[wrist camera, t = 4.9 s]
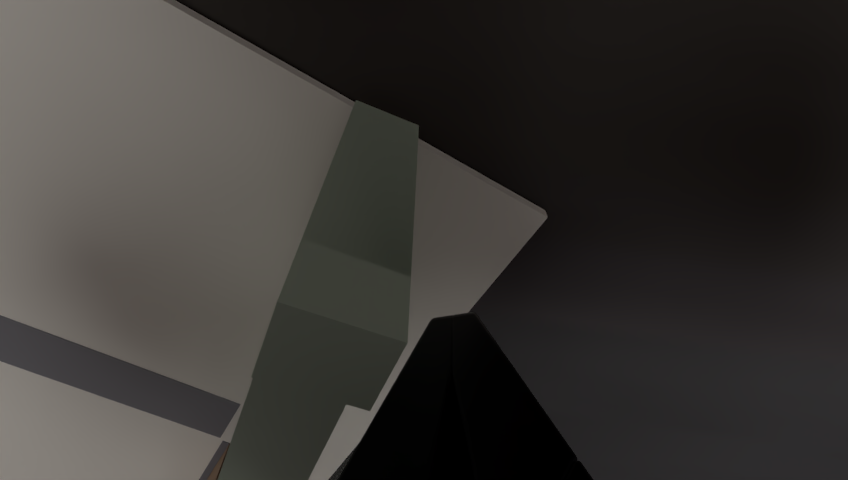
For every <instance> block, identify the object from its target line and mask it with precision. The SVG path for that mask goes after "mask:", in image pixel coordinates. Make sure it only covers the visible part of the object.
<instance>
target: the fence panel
mask: <svg viewBox="0 0 848 480" xmlns="http://www.w3.org/2000/svg"><path fill="white" fill-rule="evenodd" d="M418 135H419V125H417V124H414V123H412V122H409V121H407V120H404V119H402V118H399V117H397V116H395V115H392V114H390V113H387V112H385V111H382V110H380V109H377V108H375V107H372V106H370V105H368V104H365V103H363V102H360V101H358V100H356V101H355V104H354V106H353V109H352V111H351V114H350V117H349V119H348V122H347V124H346V127H345V129H344V132H343V134H342V137H341V140H340V142H339V145H338V147H337V150H336V152H335V155H334V157H333V160H332V163H331V165H330V168H329V170H328V173H327V175H326V178H325V181H324V183H323V186H322V188H321V191H320V193H319V196H318V198H317V201H316V204H315V206H314V209H313V211H312V214H311V216H310V219H309V221H308V224H307V227H306V229H305V232H304V234H303V237H302V239H301V242H300V244H299V247H298V250H297V252H296V255H295V257H294V260H293V262H292V265H291V267H290V270H289V273H288V275H287V278H286V280H285V283H284V285H283V288H282V290H281V293H280V296H279V298H278V301H277V303H276V306H275V309H274V312H273V315H272V318H271V321H270V324H269V327H268V329H267V332H266V335H265V338H264V341H263V344H262V347H261V350H260V353H259V356H258V358H257V361H256V364H255V367H254V370H253V373H252V376H251V378H253V380H252V382H251V385H250V388H249V391H248V394H247V397H246V400H245V403H244V405H243V408H242V411H241V414H240V417H239V420H238V423H237V425H236V428H235V431H234V434H233V437H232V440H231V443H230V445H229V448H228V451H227V454H226V457H225V460H224V463H223V466H222V468H221V471H220V474H219V477H218V480H308V479H309V477H310V475H311V473H312V471H313V469H314V467H315V465H316V463H317V461H318V459H319V457H320V455H321V453H322V452H323V450H324V448H325V446H326V444H327V442H328V440H329V438H330V436H331V434H332V432H333V430H334V428H335V426H336V424H337V422H338V420H339V418H340V416H341V414H342V412H343V410H344V408H345V406H346V405H350V406H354V407H357V408H361V409H364V410H368V411H370V410H371V409H372V407H373V405H374V403H375V401H376V399H377V398H378V396H379V394H380V392H381V390H382V389H383V387H384V385H385V383H386V381H387V379H388V378H389V376H390V374H391V372H392V370H393V368H394V367H395V365H396V363H397V361H398V359H399V358H400V356H401V354H402V352H403V350H404V348H405V347H406V345H407V343H408V324H409V305H410V286H411V267H412V248H413V229H414V210H415V191H416V173H417V154H418Z"/></svg>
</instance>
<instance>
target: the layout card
mask: <svg viewBox="0 0 848 480" xmlns="http://www.w3.org/2000/svg"><path fill="white" fill-rule="evenodd" d="M354 104H355V102H354V101H352V100H350V99H348V98H347V97H345V96H343V95H341V94H340V93H338V92H336V91H334V90H333V89H331V88H329V87H327V86H326V85H324V84H322V83H320V82H318V81H317V80H315V79H313V78H311V77H310V76H308V75H306V74H304V73H303V72H301V71H299V70H297V69H296V68H294V67H292V66H290V65H289V64H287V63H285V62H283V61H281V60H280V59H278V58H276V57H274V56H273V55H271V54H269V53H267V52H266V51H264V50H262V49H260V48H259V47H257V46H255V45H253V44H252V43H250V42H248V41H246V40H244V39H243V38H241V37H239V36H237V35H236V34H234V33H232V32H230V31H229V30H227V29H225V28H223V27H222V26H220V25H218V24H216V23H215V22H213V21H211V20H209V19H207V18H206V17H204V16H202V15H200V14H199V13H197V12H195V11H193V10H192V9H190V8H188V7H186V6H185V5H183V4H181V3H179V2H178V1H176V0H0V480H207V479H208V477H209V475H210V474H211V472H212V471H213V469H214V467H215V466H216V464H217V463H218V461H219V459H220V458H221V456H222V455H223V453H224V451H225V450H226V448H227V447H228V445H229V443H231V440H232V437H233V434H234V431H235V428H236V425H237V423H238V420H239V417H240V414H241V411H242V408H243V405H244V403H245V400H246V397H247V394H248V391H249V388H250V385H251V382H252V380H253V378H251V376H252V373H253V370H254V367H255V364H256V361H257V358H258V356H259V353H260V350H261V347H262V344H263V341H264V338H265V335H266V332H267V329H268V327H269V324H270V321H271V318H272V315H273V312H274V309H275V306H276V303H277V301H278V298H279V296H280V293H281V290H282V288H283V285H284V283H285V280H286V278H287V275H288V273H289V270H290V267H291V265H292V262H293V260H294V257H295V255H296V252H297V250H298V247H299V244H300V242H301V239H302V237H303V234H304V232H305V229H306V227H307V224H308V221H309V219H310V216H311V214H312V211H313V209H314V206H315V204H316V201H317V198H318V196H319V193H320V191H321V188H322V186H323V183H324V181H325V178H326V175H327V173H328V170H329V168H330V165H331V163H332V160H333V157H334V155H335V152H336V150H337V147H338V145H339V142H340V140H341V137H342V134H343V132H344V129H345V127H346V124H347V122H348V119H349V117H350V114H351V111H352V109H353V106H354ZM547 218H548V216H547V214H546V211H545V210H544V209H542V208H540V207H539V206H537V205H535V204H533V203H532V202H530V201H528V200H526V199H525V198H523V197H521V196H519V195H518V194H516V193H514V192H512V191H510V190H509V189H507V188H505V187H503V186H502V185H500V184H498V183H496V182H495V181H493V180H491V179H489V178H488V177H486V176H484V175H482V174H481V173H479V172H477V171H475V170H473V169H472V168H470V167H468V166H466V165H465V164H463V163H461V162H459V161H458V160H456V159H454V158H452V157H451V156H449V155H447V154H445V153H444V152H442V151H440V150H438V149H436V148H435V147H433V146H431V145H429V144H428V143H426V142H424V141H422V140H421V139H419V138H418V154H417V173H416V191H415V210H414V229H413V248H412V267H411V286H410V305H409V324H408V343H407V345H406V347H405V348H404V350H403V352H402V354H401V356H400V358H399V359H398V361H397V363H396V365H395V367H394V368H393V370H392V372H391V374H390V376H389V378H388V379H387V381H386V383H385V385H384V387H383V389H382V390H381V392H380V394H379V396H378V398H377V399H376V401H375V403H374V405H373V407H372V409H371V410H370V411H368V410H364V409H361V408H357V407H354V406H350V405H346V406H345V408H344V410H343V412H342V414H341V416H340V418H339V420H338V422H337V424H336V426H335V428H334V430H333V432H332V434H331V436H330V438H329V440H328V442H327V444H326V446H325V448H324V450H323V452H322V453H321V455H320V457H319V459H318V461H317V463H316V465H315V467H314V469H313V471H312V473H311V475H310V477H309V479H308V480H328V479H329V478H330V477H331V476H332V475H333V473H334V472H335V471H336V470H337V469H338V467H339V466H340V465H341V464H342V463H343V461H344V460H345V459H346V458H347V457H348V455H349V454H350V453H351V452H352V451H353V449H354V448H355V447H356V446H357V445H358V443H359V442H360V441H361V439H362V437H363V436H364V434H365V432H366V430H367V429H368V427H369V425H370V423H371V422H372V420H373V418H374V417H375V415H376V413H377V411H378V410H379V408H380V406H381V404H382V403H383V401H384V399H385V398H386V396H387V394H388V392H389V391H390V389H391V387H392V386H393V384H394V382H395V380H396V379H397V377H398V375H399V373H400V372H401V370H402V368H403V367H404V365H405V363H406V361H407V360H408V358H409V356H410V354H411V353H412V351H413V349H414V348H415V346H416V344H417V342H418V341H419V339H420V337H421V336H422V334H423V332H424V330H425V329H426V327H427V325H428V323H429V322H430V320H431V319H433V318H435V317H442V316H448V315H455V314H462V313H468V312H469V311H470V310H471V308H472V307H473V306H474V305H475V304H476V303H477V301H478V300H479V299H480V298H481V297H482V295H483V294H484V293H485V292H486V291H487V289H488V288H489V287H490V286H491V285H492V283H493V282H494V281H495V280H496V279H497V277H498V276H499V275H500V274H501V273H502V271H503V270H504V269H505V268H506V267H507V265H508V264H509V263H510V262H511V261H512V260H513V258H514V257H515V256H516V255H517V254H518V252H519V251H520V250H521V249H522V248H523V246H524V245H525V244H526V243H527V242H528V240H529V239H530V238H531V237H532V236H533V234H534V233H535V232H536V231H537V230H538V228H539V227H540V226H541V225H542V224H543V222H544V221H545V220H546V219H547Z"/></svg>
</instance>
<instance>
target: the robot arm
mask: <svg viewBox="0 0 848 480" xmlns="http://www.w3.org/2000/svg"><path fill="white" fill-rule="evenodd" d="M338 480H593V479H592V477H591V476H590V474H589V473H588V472H587V470H586V469H585V467H584V466H583V465H582V463H581V462H580V461H577V457H576V455H575V454H574V452H573V451H572V449H571V448H570V447H569V445H568V444H567V442H566V441H565V439H564V438H563V437H562V435H561V434H560V432H559V431H558V429H557V428H556V427H555V425H554V424H553V422H552V421H551V419H550V418H549V417H548V415H547V414H546V412H545V411H544V410H543V408H542V407H541V405H540V404H539V402H538V401H537V400H536V398H535V397H534V395H533V394H532V392H531V391H530V390H529V388H528V387H527V385H526V384H525V382H524V381H523V380H522V378H521V377H520V375H519V374H518V372H517V371H516V370H515V368H514V367H513V365H512V364H511V363H510V361H509V360H508V358H507V357H506V355H505V354H504V353H503V351H502V350H501V348H500V347H499V345H498V344H497V343H496V341H495V340H494V338H493V337H492V335H491V334H490V333H489V331H488V330H487V328H486V327H485V326H484V324H483V323H482V321H481V320H480V318H479V317H478V316H477V314H475V313H474V312H469V313H462V314H455V315H448V316H442V317H435V318H433V319H431V320H430V322H429V323H428V325H427V327H426V329H425V330H424V332H423V334H422V336H421V337H420V339H419V341H418V342H417V344H416V346H415V348H414V349H413V351H412V353H411V354H410V356H409V358H408V360H407V361H406V363H405V365H404V367H403V368H402V370H401V372H400V373H399V375H398V377H397V379H396V380H395V382H394V384H393V386H392V387H391V389H390V391H389V392H388V394H387V396H386V398H385V399H384V401H383V403H382V404H381V406H380V408H379V410H378V411H377V413H376V415H375V417H374V418H373V420H372V422H371V423H370V425H369V427H368V429H367V430H366V432H365V434H364V436H363V437H362V439H361V441H360V442H359V444H358V446H357V448H356V449H355V451H354V453H353V454H352V456H351V458H350V460H349V461H348V463H347V465H346V467H345V468H344V470H343V472H342V473H341V475H340V477H339V479H338Z"/></svg>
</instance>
